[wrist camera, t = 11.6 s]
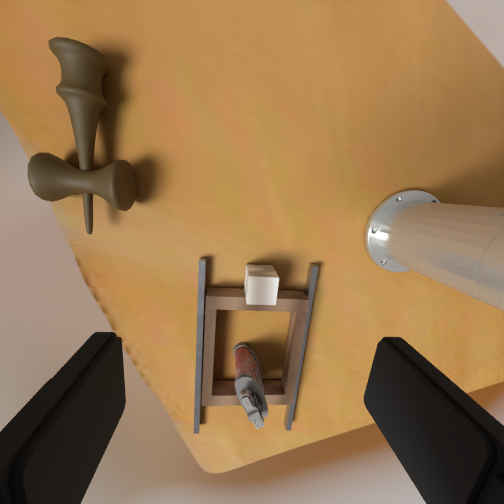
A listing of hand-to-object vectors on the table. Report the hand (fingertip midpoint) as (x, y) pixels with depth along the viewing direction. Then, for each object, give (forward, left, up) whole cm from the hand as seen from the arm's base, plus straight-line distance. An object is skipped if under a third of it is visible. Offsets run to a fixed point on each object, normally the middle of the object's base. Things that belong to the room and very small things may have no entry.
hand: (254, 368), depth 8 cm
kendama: (+18, -9, -27) cm, 33 cm away
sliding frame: (-4, +16, -26) cm, 31 cm away
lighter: (-4, +22, -26) cm, 35 cm away
